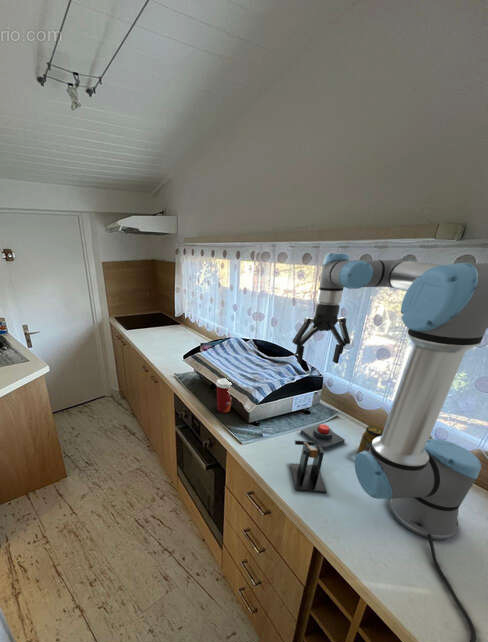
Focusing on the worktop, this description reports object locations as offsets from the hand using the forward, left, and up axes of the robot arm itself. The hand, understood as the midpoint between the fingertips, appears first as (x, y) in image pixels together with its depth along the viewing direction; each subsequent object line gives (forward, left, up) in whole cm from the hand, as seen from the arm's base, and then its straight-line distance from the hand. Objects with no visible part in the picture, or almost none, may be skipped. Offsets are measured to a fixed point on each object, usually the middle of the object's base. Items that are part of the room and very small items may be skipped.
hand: (317, 362), depth 113 cm
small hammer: (-28, +11, -19) cm, 36 cm away
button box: (-11, -2, -27) cm, 29 cm away
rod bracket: (-32, +12, -27) cm, 44 cm away
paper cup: (+14, +32, -27) cm, 44 cm away
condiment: (-23, -12, -27) cm, 38 cm away
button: (-11, -2, -24) cm, 26 cm away
